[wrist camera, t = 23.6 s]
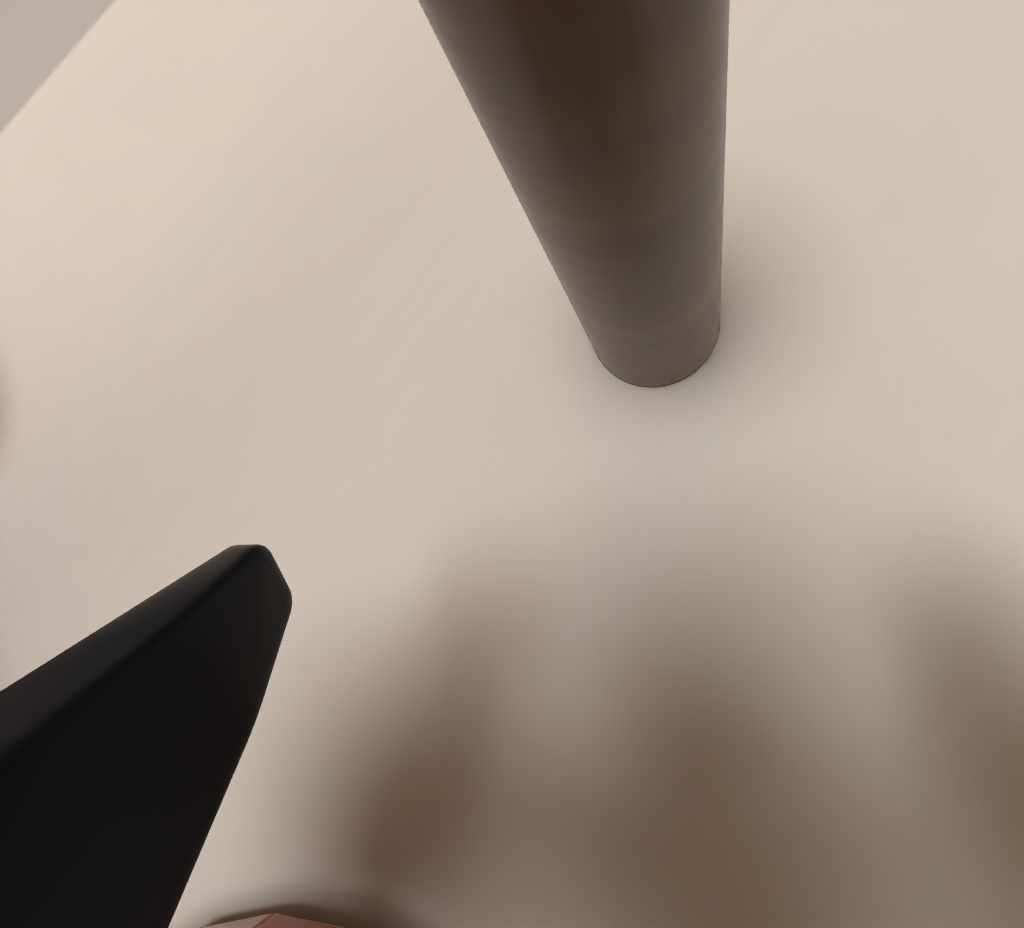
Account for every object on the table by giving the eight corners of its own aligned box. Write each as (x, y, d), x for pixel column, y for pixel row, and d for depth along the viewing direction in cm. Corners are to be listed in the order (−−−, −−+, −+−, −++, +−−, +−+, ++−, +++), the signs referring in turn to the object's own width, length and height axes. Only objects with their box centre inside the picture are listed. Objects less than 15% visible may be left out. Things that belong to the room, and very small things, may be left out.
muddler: (745, 342, 16) (1040, -1765, 2) (631, 411, 16) (83, -761, 2) (676, 244, 17) (472, -1722, 2) (570, 311, 17) (-124, -1012, 3)
